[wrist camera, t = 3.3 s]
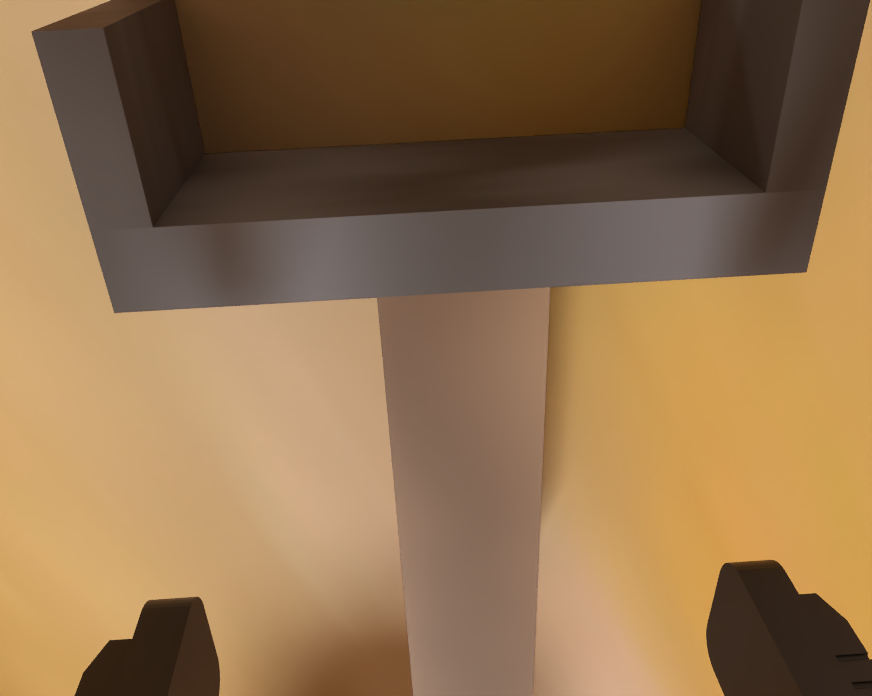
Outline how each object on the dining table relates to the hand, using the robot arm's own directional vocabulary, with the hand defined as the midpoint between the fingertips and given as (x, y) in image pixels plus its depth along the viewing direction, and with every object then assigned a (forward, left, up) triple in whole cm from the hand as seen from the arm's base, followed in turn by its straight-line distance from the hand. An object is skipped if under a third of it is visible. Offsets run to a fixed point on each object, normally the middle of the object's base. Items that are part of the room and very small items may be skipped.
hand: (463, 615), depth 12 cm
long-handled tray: (0, 0, -8) cm, 8 cm away
